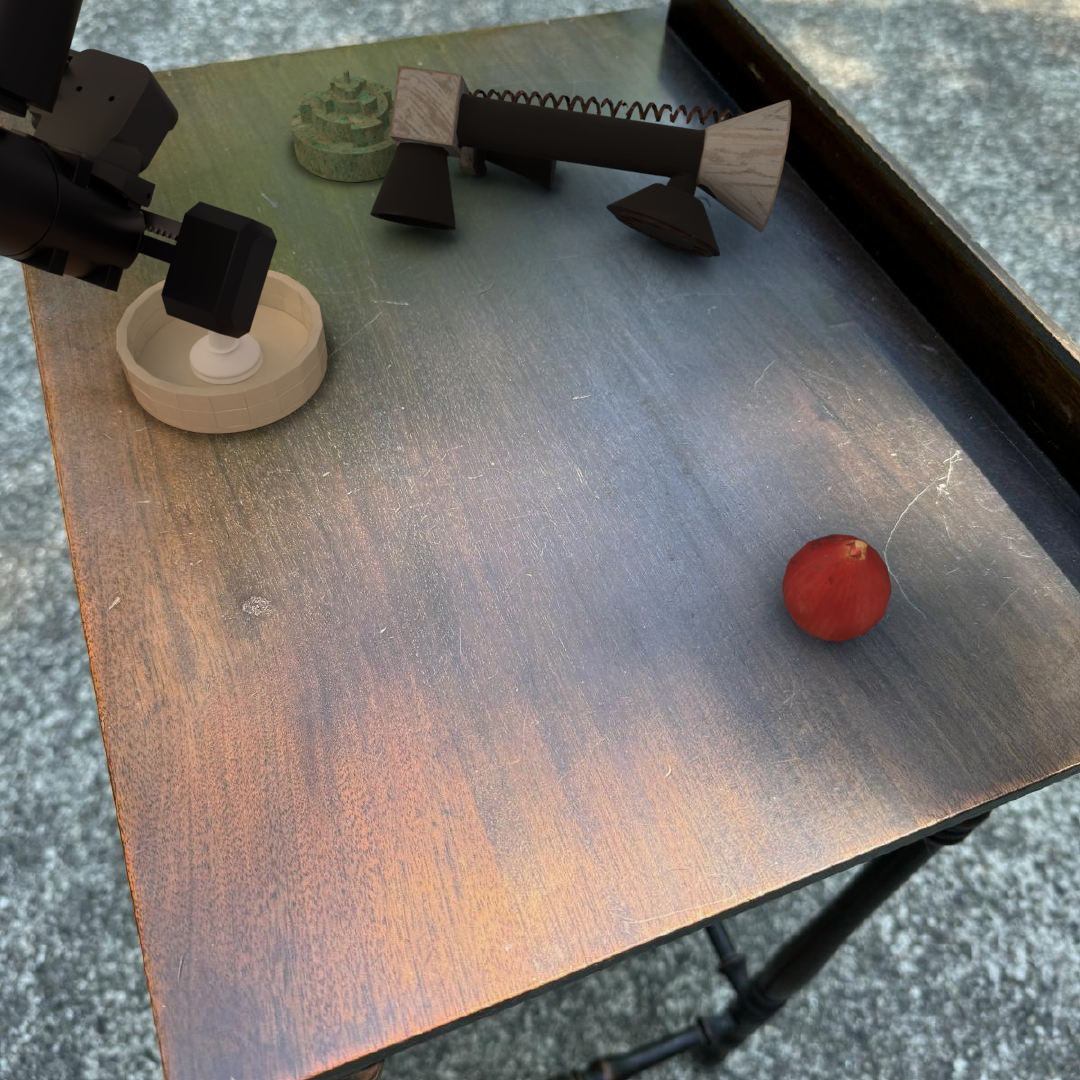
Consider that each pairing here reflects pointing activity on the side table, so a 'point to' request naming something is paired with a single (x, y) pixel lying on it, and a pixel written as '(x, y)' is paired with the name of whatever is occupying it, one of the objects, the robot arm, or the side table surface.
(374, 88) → the decorative artifact
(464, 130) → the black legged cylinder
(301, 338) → the pan
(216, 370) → the chess piece
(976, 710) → the side table surface
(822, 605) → the onion
